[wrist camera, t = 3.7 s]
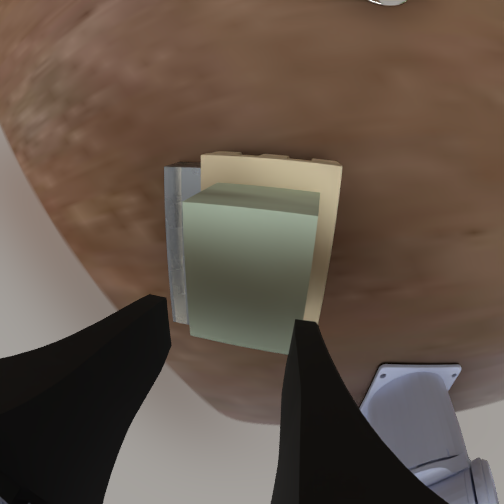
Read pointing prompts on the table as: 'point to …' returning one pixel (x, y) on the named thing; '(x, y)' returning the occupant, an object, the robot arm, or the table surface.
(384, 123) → the table surface
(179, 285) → the dock
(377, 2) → the wineglass
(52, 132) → the table surface
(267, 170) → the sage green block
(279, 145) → the table surface
